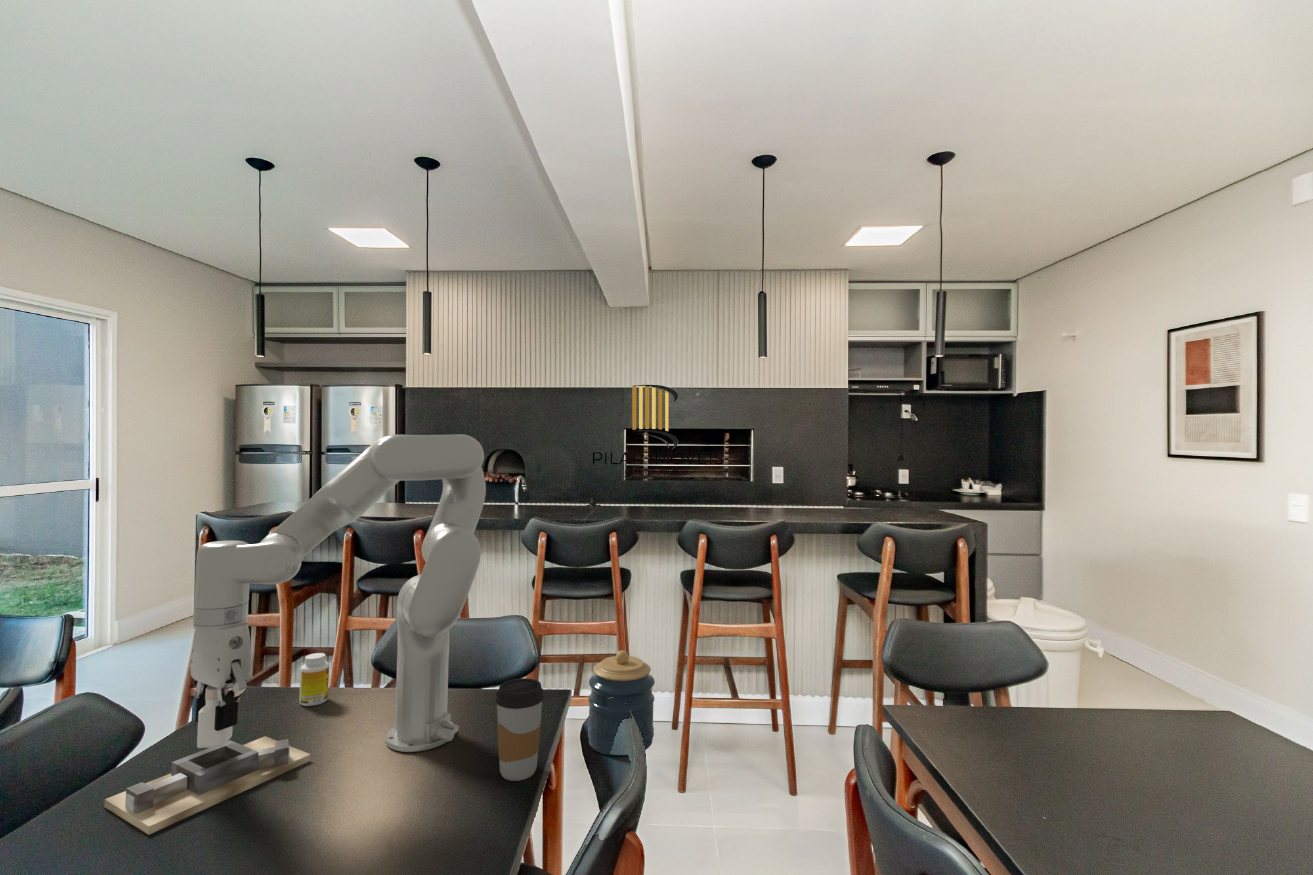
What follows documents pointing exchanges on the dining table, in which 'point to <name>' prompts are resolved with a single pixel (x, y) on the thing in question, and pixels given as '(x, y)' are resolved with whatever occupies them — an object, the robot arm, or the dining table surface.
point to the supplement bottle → (314, 680)
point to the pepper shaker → (211, 722)
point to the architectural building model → (204, 782)
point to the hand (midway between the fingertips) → (216, 722)
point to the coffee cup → (519, 727)
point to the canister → (620, 700)
